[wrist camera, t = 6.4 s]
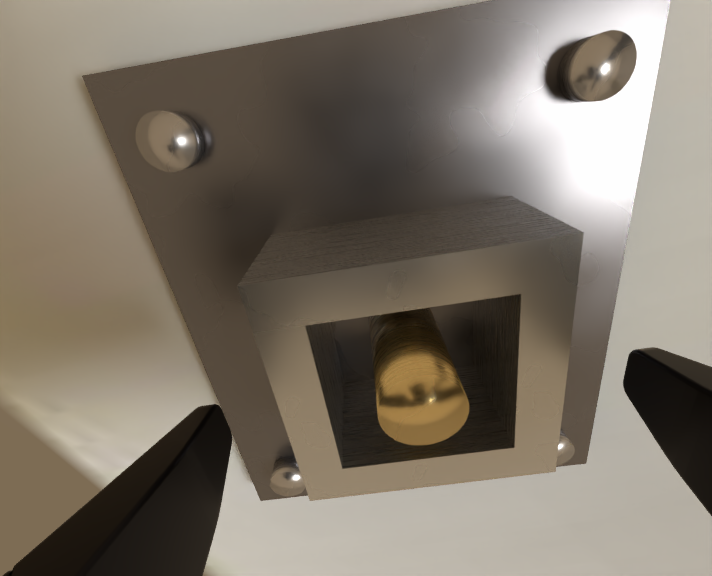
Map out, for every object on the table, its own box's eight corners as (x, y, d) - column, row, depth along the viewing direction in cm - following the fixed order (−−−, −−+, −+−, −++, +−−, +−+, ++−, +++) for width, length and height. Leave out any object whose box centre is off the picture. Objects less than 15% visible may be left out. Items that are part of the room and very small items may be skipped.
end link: (511, 196, 9) (583, 232, 6) (506, 386, 11) (555, 471, 9) (271, 235, 9) (237, 286, 6) (319, 411, 12) (310, 500, 9)
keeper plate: (645, -20, 8) (952, -159, 4) (573, 444, 14) (662, 575, 10) (105, 79, 8) (-112, 48, 4) (265, 481, 14) (233, 618, 10)
